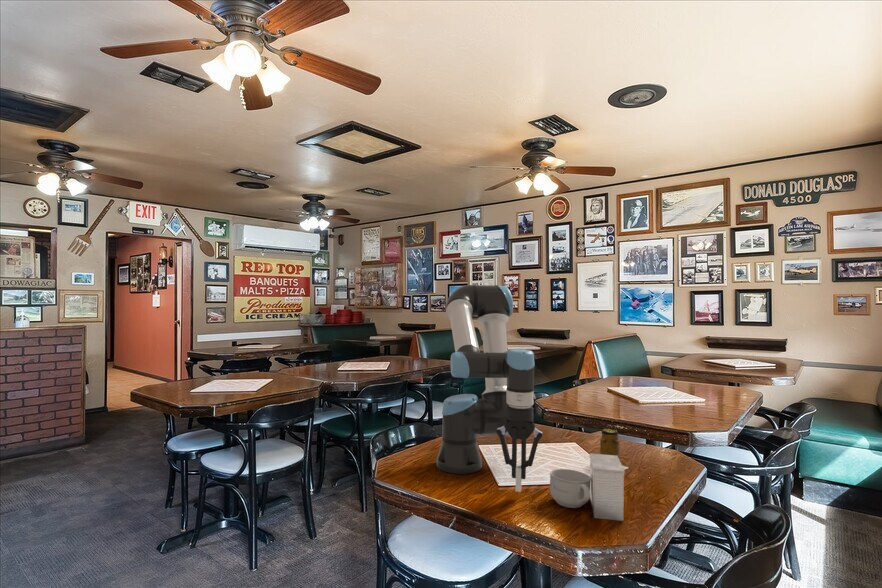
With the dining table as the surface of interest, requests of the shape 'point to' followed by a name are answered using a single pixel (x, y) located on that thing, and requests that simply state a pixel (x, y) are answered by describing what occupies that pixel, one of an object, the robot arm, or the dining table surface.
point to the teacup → (569, 487)
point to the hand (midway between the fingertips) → (518, 489)
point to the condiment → (610, 443)
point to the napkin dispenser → (606, 486)
